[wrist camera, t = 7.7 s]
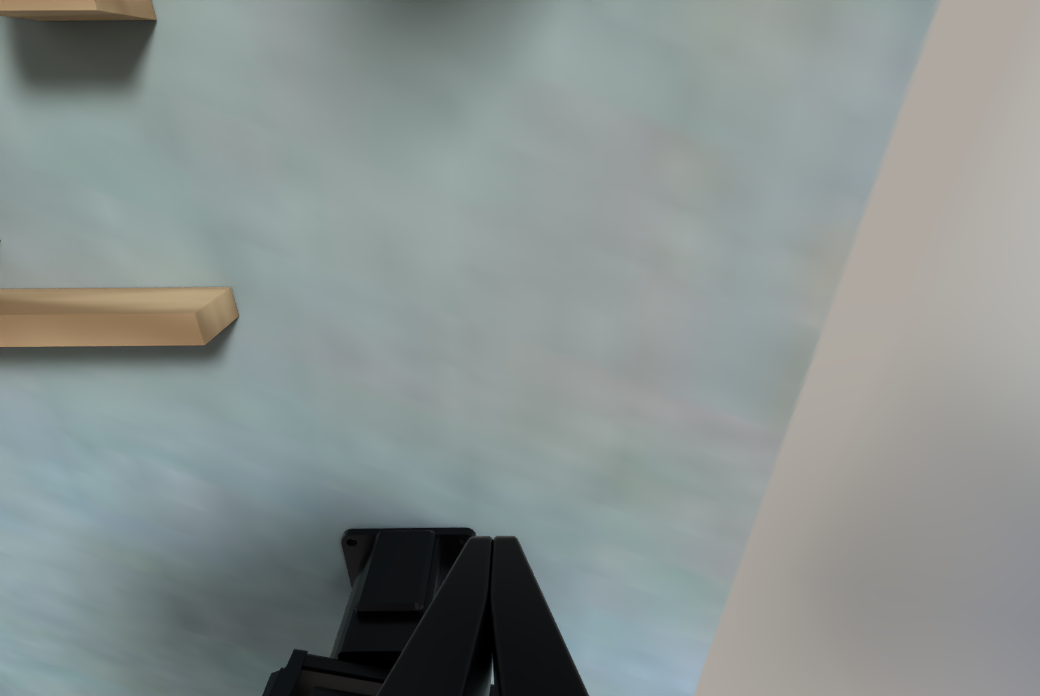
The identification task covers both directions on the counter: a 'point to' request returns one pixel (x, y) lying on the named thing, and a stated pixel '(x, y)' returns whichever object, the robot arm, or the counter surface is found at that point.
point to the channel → (107, 309)
